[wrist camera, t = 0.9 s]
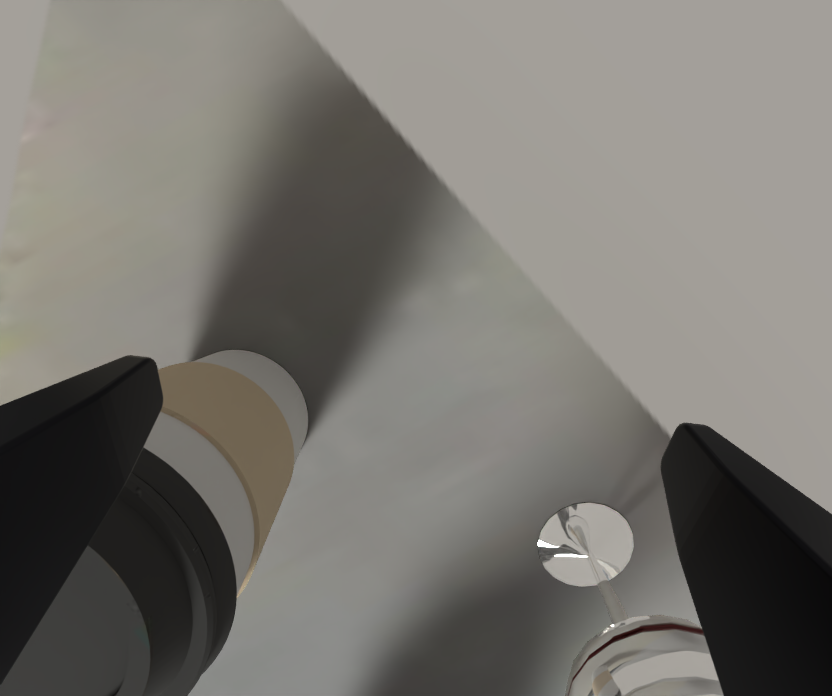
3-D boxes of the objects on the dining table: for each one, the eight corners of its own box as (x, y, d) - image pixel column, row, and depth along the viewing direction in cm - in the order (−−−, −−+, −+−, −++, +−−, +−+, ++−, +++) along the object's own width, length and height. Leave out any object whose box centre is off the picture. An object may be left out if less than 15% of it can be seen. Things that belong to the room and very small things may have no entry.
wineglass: (506, 505, 27) (558, 719, 15) (636, 472, 26) (797, 669, 14) (538, 613, 28) (609, 886, 16) (663, 584, 27) (829, 849, 16)
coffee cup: (265, 294, 25) (18, 387, 10) (364, 446, 26) (271, 716, 12) (120, 383, 26) (-282, 578, 12) (222, 523, 28) (-19, 850, 13)
